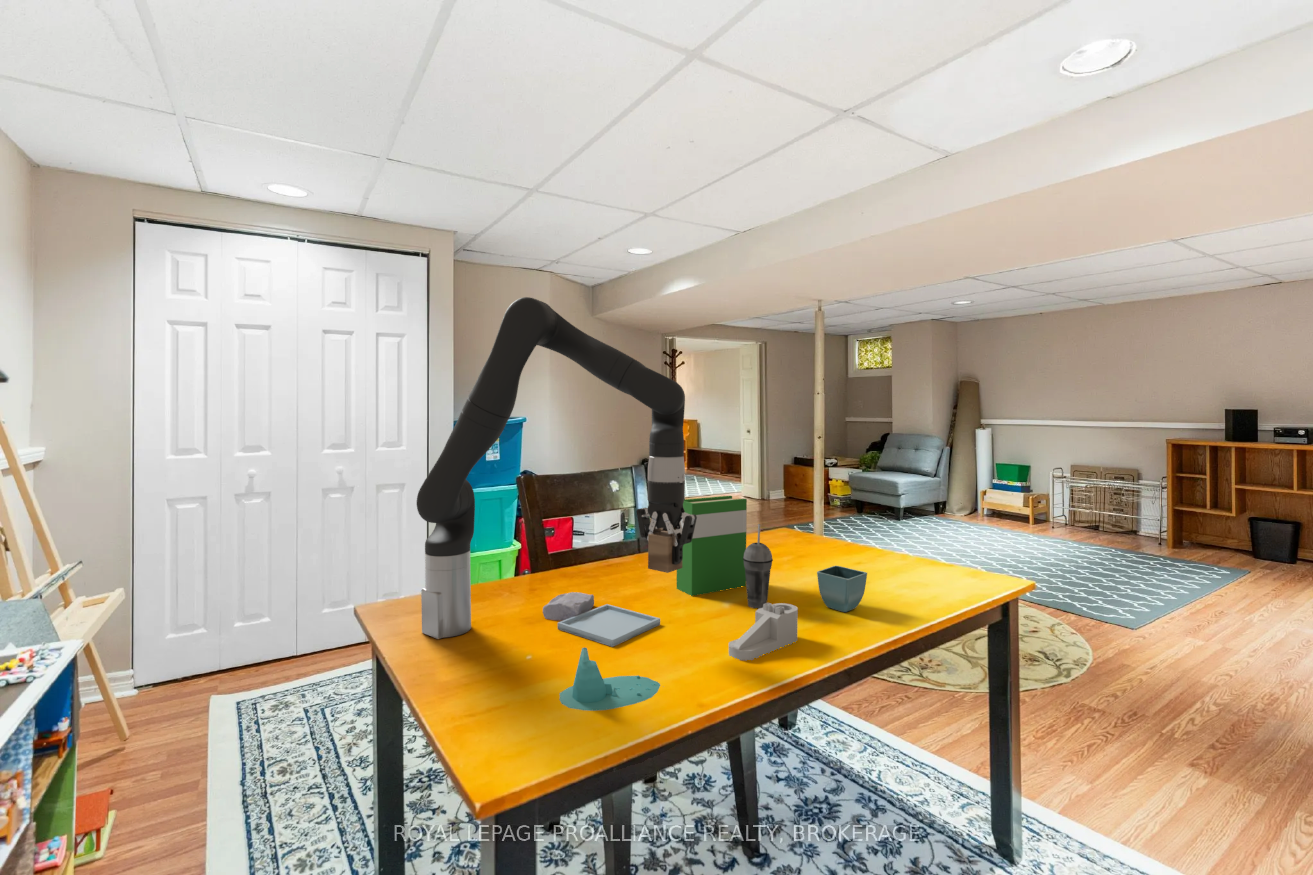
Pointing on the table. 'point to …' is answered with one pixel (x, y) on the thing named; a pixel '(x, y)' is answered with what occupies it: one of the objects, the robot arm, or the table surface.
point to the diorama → (605, 688)
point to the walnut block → (661, 552)
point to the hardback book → (714, 546)
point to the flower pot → (841, 587)
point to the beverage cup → (757, 572)
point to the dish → (609, 624)
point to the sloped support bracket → (767, 632)
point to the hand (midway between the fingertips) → (665, 561)
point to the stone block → (568, 606)
